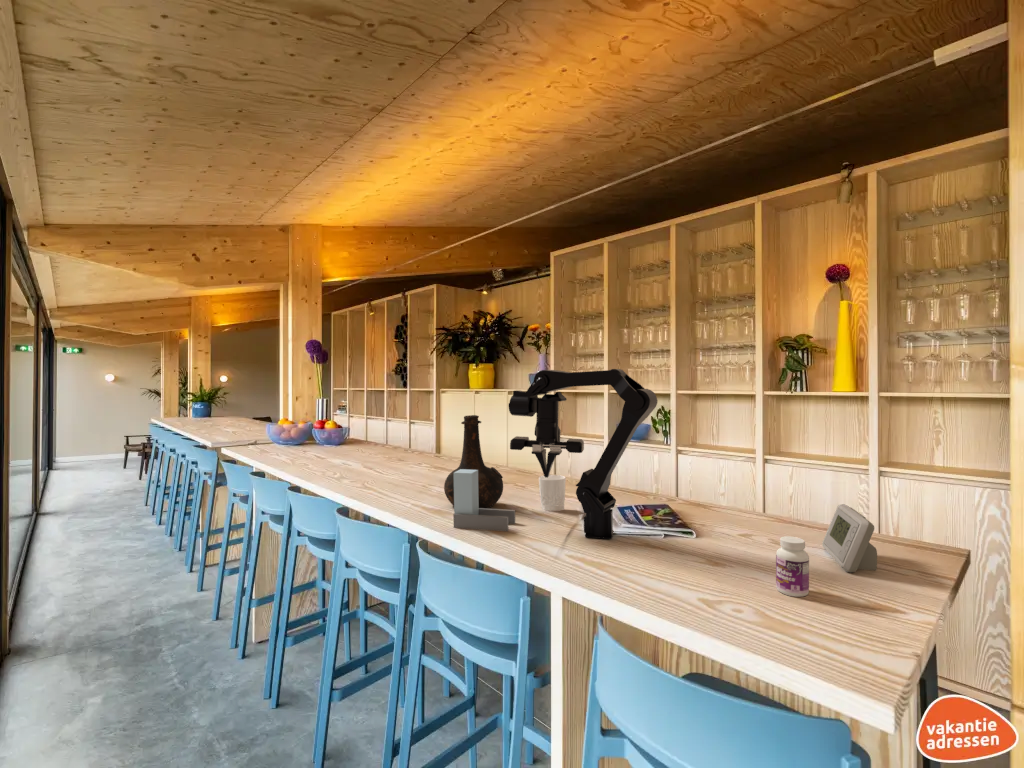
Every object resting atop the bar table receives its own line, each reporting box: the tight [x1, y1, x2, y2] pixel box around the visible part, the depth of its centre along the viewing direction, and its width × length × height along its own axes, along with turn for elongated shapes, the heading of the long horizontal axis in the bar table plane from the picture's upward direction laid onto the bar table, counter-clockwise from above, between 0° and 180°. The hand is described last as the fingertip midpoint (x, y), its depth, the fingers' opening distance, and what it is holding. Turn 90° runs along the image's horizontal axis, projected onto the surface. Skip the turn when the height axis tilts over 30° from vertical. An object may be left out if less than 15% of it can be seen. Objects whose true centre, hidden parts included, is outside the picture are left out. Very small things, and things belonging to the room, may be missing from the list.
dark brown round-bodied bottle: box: [443, 414, 504, 509], centre depth 162 cm, size 18×18×28 cm
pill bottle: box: [775, 535, 810, 598], centre depth 98 cm, size 5×5×10 cm
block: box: [453, 469, 479, 515], centre depth 142 cm, size 5×5×14 cm
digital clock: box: [821, 503, 878, 573], centre depth 112 cm, size 16×9×11 cm, turn 153°
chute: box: [453, 508, 516, 532], centre depth 140 cm, size 14×8×4 cm, turn 74°
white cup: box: [538, 474, 567, 512], centre depth 157 cm, size 8×8×10 cm
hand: (546, 477), depth 141 cm, fingers closed
